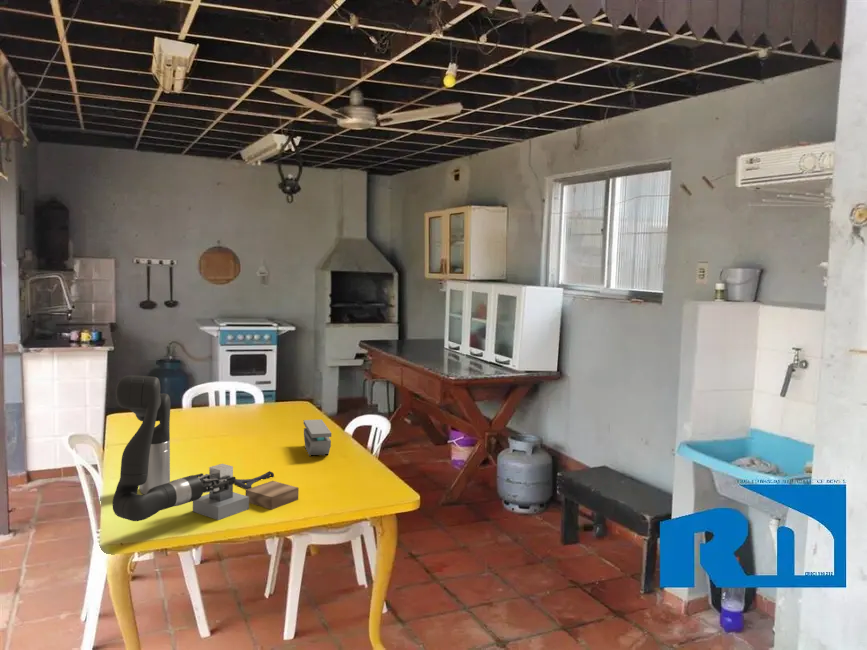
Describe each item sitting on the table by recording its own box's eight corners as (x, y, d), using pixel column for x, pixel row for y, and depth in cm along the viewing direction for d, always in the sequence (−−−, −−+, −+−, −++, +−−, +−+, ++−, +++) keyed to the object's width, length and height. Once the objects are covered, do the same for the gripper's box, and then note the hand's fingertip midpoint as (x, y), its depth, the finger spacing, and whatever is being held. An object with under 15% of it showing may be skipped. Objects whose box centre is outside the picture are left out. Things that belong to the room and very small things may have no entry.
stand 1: (192, 511, 213) (192, 499, 212) (223, 501, 223) (223, 489, 223) (218, 520, 206) (218, 507, 206) (248, 509, 216) (248, 496, 216)
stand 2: (245, 501, 223) (245, 489, 223) (272, 492, 233) (272, 480, 233) (271, 509, 217) (271, 497, 216) (298, 499, 227) (298, 487, 226)
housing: (208, 498, 213) (208, 467, 213) (222, 493, 218) (222, 463, 217) (219, 502, 211) (220, 470, 210) (233, 497, 215) (233, 466, 214)
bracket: (284, 482, 245) (284, 475, 245) (247, 491, 235) (247, 483, 234) (262, 473, 255) (262, 466, 255) (226, 482, 245) (226, 474, 244)
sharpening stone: (331, 459, 274) (331, 433, 273) (311, 460, 272) (311, 434, 271) (321, 443, 298) (321, 419, 297) (303, 444, 295) (303, 420, 295)
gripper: (198, 483, 198) (242, 470, 211) (167, 474, 205) (211, 461, 219) (198, 508, 198) (242, 493, 212) (167, 498, 206) (211, 484, 220)
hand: (226, 477), depth 216 cm, fingers open, 7 cm apart
